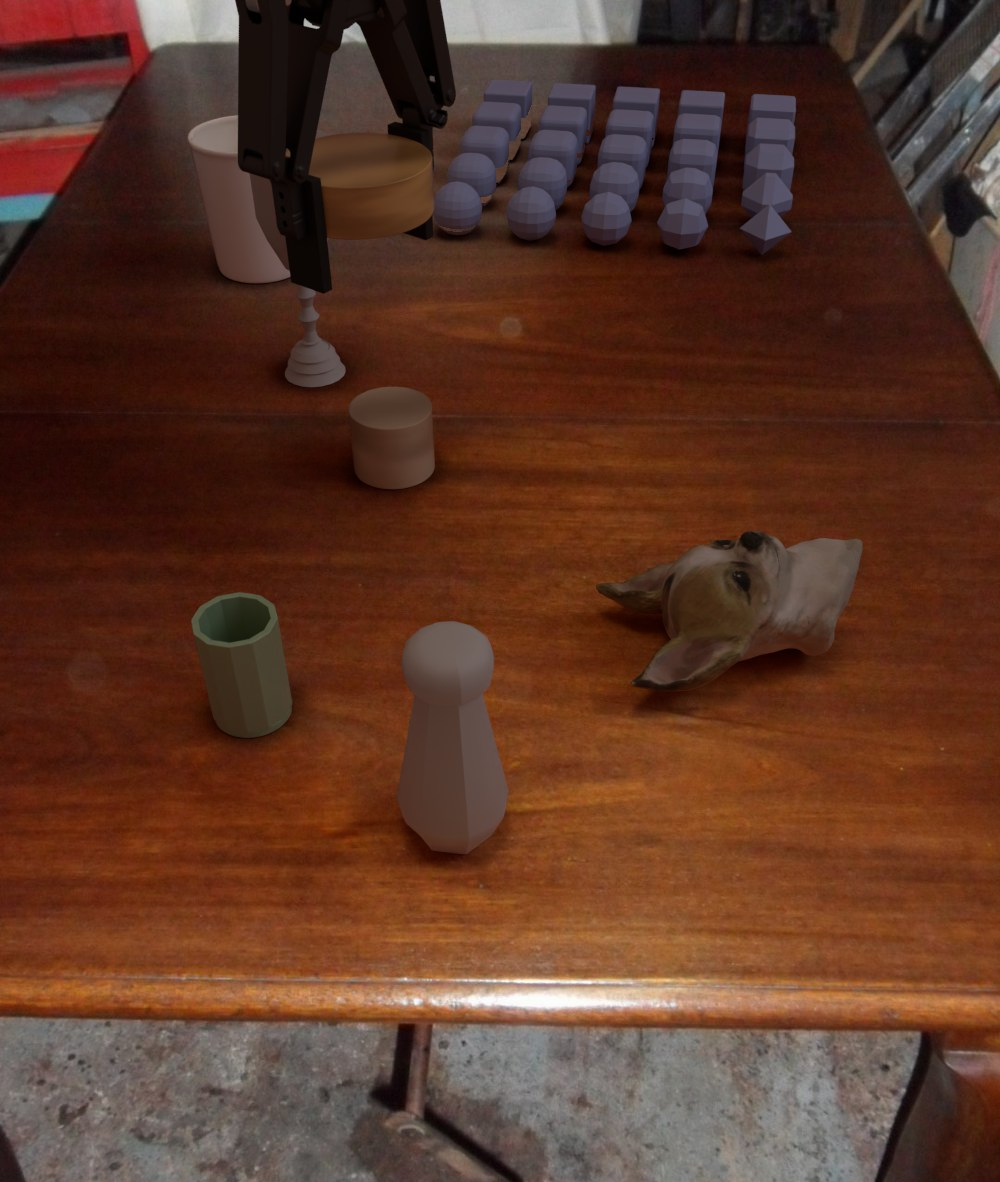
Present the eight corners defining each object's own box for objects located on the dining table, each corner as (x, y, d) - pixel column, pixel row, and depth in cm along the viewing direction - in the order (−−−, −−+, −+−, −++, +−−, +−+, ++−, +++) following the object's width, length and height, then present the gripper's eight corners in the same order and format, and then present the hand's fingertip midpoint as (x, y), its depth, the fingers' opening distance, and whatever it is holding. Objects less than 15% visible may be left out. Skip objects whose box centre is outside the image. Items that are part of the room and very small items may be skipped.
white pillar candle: (347, 452, 90) (340, 393, 86) (423, 440, 91) (420, 381, 88) (363, 495, 86) (357, 434, 82) (444, 482, 87) (441, 421, 84)
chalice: (314, 343, 102) (287, 121, 90) (374, 365, 100) (356, 139, 87) (254, 378, 98) (217, 149, 86) (316, 402, 95) (287, 169, 83)
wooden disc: (276, 191, 75) (269, 140, 73) (415, 175, 76) (412, 126, 74) (299, 248, 69) (293, 195, 66) (450, 229, 70) (448, 177, 68)
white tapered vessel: (332, 271, 113) (318, 137, 104) (237, 297, 109) (215, 160, 100) (285, 236, 119) (268, 107, 110) (193, 259, 115) (169, 127, 106)
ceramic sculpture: (903, 572, 65) (635, 614, 64) (878, 688, 71) (633, 728, 70) (833, 468, 72) (592, 504, 71) (816, 581, 78) (594, 615, 77)
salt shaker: (382, 849, 62) (361, 665, 53) (425, 774, 66) (413, 590, 57) (485, 880, 61) (482, 697, 52) (524, 802, 65) (527, 618, 56)
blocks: (788, 141, 137) (796, 95, 134) (787, 268, 113) (796, 215, 110) (491, 123, 142) (491, 78, 138) (428, 241, 118) (426, 190, 114)
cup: (208, 692, 71) (187, 601, 66) (285, 677, 72) (269, 586, 67) (218, 745, 68) (196, 653, 63) (298, 728, 69) (283, 636, 64)
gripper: (219, -149, 51) (286, 341, 67) (516, -208, 64) (514, 217, 79) (104, -166, 54) (194, 305, 70) (409, -219, 67) (427, 191, 82)
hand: (364, 258), depth 75 cm, fingers closed on wooden disc, 9 cm apart
